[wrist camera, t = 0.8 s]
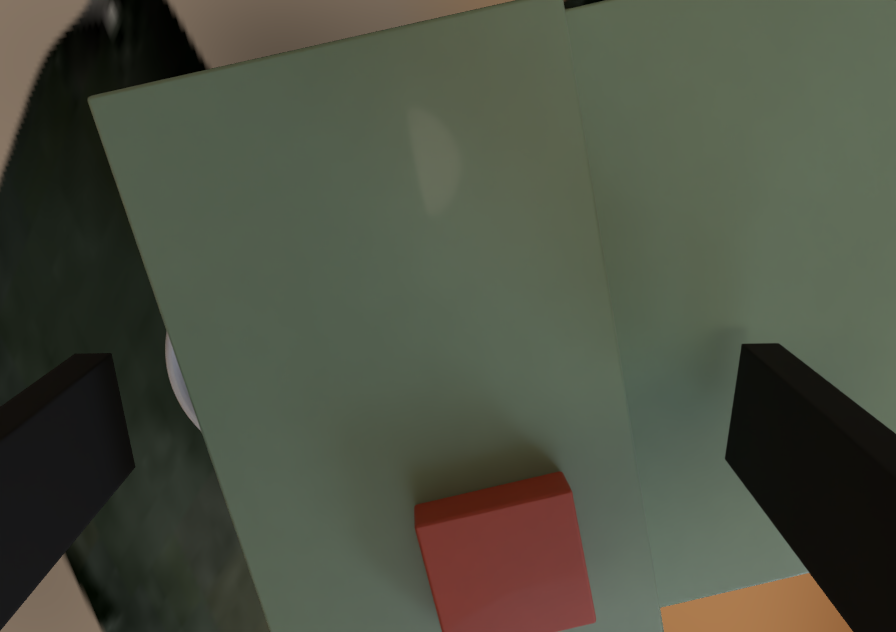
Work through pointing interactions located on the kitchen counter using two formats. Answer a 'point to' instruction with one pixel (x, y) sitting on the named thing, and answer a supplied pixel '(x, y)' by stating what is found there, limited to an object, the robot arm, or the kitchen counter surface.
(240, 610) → the kitchen counter surface
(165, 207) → the coffee machine
